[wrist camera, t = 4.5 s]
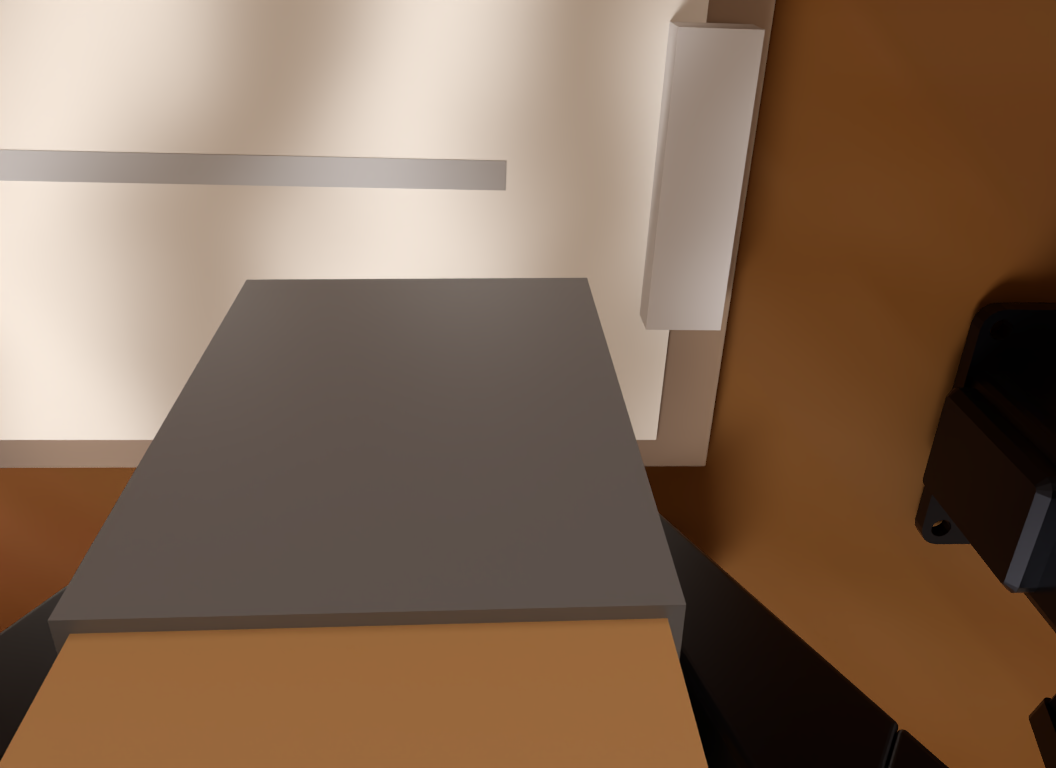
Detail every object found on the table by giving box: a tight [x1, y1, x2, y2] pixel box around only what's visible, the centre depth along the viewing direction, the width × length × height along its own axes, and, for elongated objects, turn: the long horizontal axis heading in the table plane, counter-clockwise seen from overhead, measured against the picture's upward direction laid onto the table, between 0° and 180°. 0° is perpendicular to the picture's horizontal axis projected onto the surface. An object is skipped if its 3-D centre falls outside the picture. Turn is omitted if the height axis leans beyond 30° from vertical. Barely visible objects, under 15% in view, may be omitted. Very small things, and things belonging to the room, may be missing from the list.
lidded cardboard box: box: [0, 278, 708, 768], centre depth 8 cm, size 4×4×6 cm
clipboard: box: [0, 0, 776, 468], centre depth 18 cm, size 20×14×1 cm
